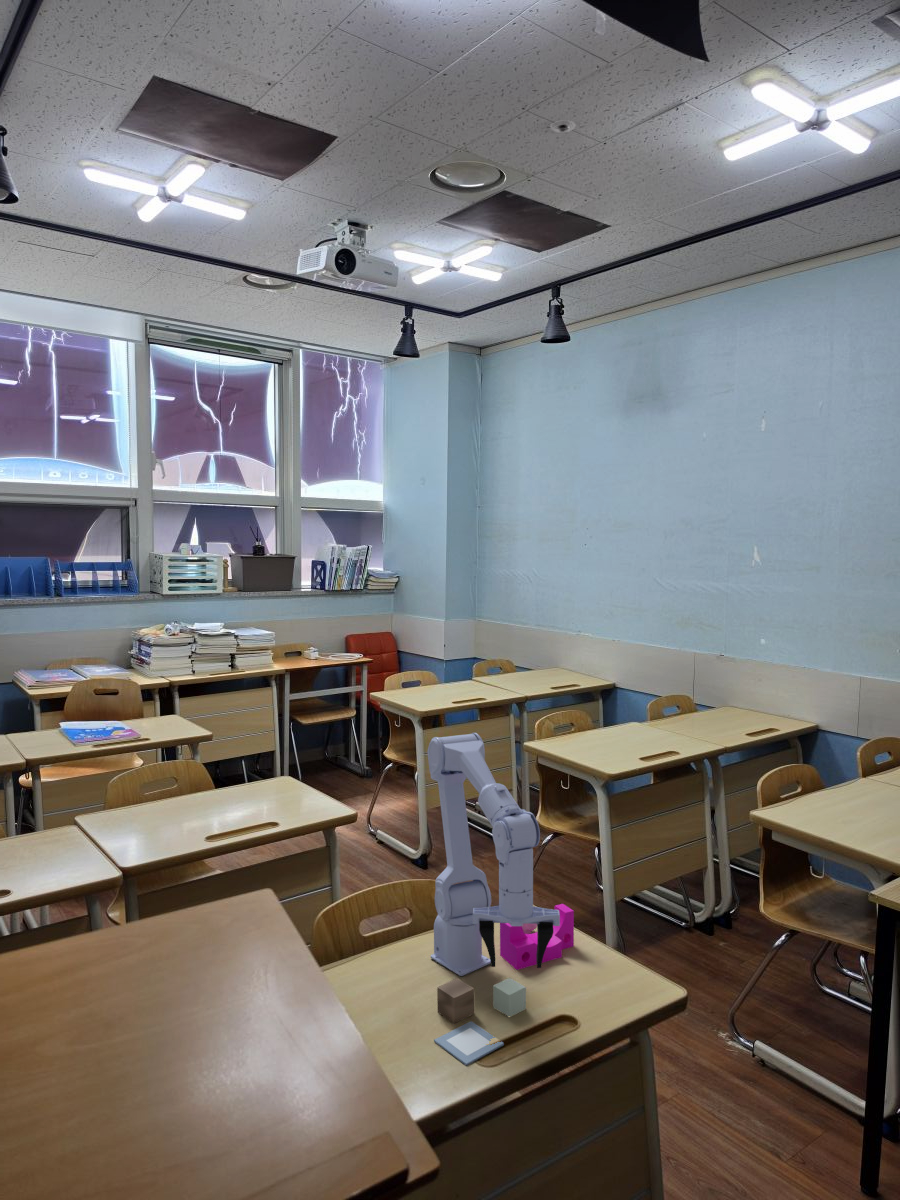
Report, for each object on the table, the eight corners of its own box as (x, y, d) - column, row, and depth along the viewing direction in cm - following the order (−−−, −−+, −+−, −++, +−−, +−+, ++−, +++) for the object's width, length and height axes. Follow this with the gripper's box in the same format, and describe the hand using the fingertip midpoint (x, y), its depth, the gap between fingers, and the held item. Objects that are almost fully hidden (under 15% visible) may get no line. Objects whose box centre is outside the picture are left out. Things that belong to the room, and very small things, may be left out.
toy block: (516, 971, 150) (516, 932, 150) (500, 956, 156) (499, 919, 155) (581, 952, 157) (581, 915, 157) (563, 939, 163) (562, 903, 162)
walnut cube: (437, 1012, 137) (437, 987, 136) (457, 1002, 139) (457, 978, 139) (454, 1024, 133) (454, 998, 133) (474, 1014, 136) (474, 988, 136)
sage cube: (493, 1007, 138) (493, 985, 138) (509, 999, 140) (509, 977, 140) (509, 1018, 135) (509, 995, 135) (525, 1009, 137) (525, 987, 137)
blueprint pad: (434, 1041, 128) (434, 1039, 128) (471, 1022, 133) (471, 1021, 133) (466, 1065, 122) (466, 1063, 122) (503, 1045, 127) (503, 1043, 127)
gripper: (472, 895, 129) (472, 976, 130) (561, 897, 128) (561, 978, 129) (473, 877, 136) (473, 954, 137) (557, 879, 135) (557, 956, 136)
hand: (516, 964), depth 133 cm, fingers open, 7 cm apart
